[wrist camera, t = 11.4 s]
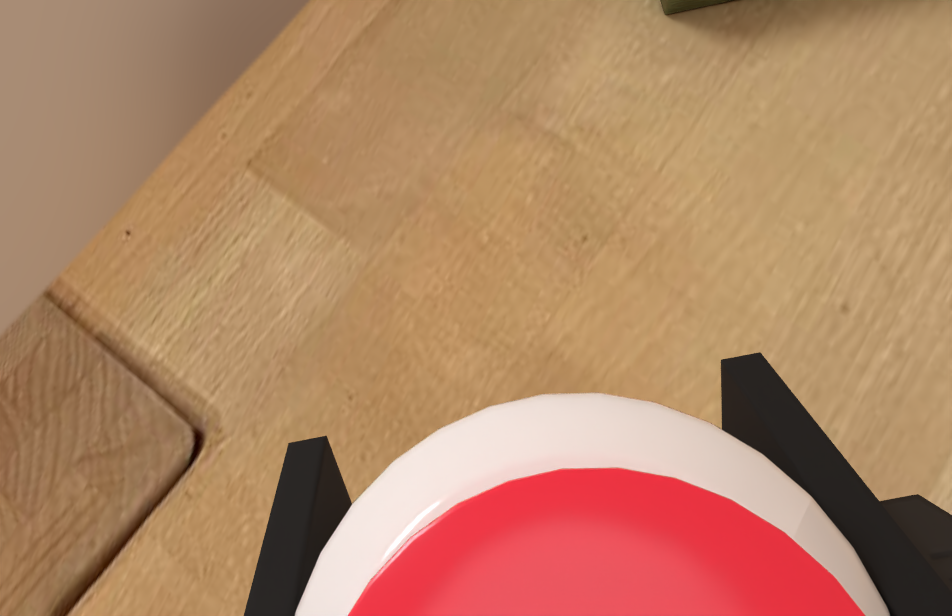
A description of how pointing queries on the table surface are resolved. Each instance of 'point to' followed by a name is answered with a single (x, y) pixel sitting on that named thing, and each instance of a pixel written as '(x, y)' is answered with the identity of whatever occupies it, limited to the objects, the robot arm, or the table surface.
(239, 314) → the table surface
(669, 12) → the button box
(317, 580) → the pill bottle
